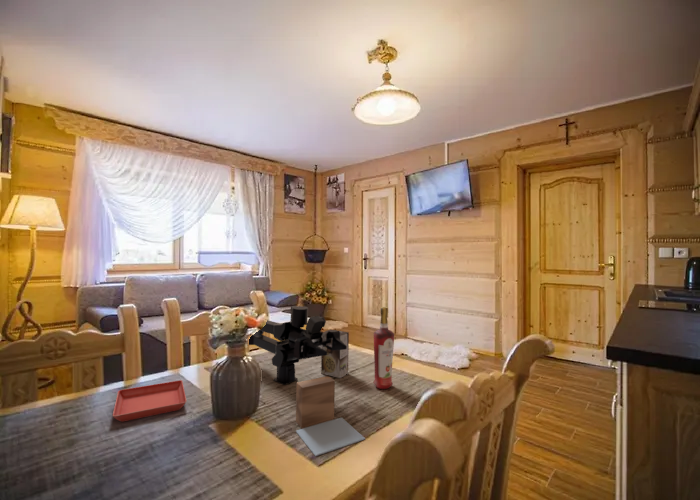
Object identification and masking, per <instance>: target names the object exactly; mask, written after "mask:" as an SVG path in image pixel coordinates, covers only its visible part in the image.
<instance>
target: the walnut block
mask: <svg viewBox="0 0 700 500" xmlns="http://www.w3.org/2000/svg"><path fill="white" fill-rule="evenodd" d="M335 382H336V381H335V380H334V379H333V378H332V377H330V376H329V375H326V376H322V377H317V378H313V379H307V380H303V381H298V382H296V391H295V393H296V395H295V396H296V397H295V398H296V399H295V401H296V403H295V407H296V408H295V423H297V425H298V426H299V427H300V429H303V428H307V427H310V426H313V425H317V424H320V423H324V422H327V421H331V420H334V419H335V399H336V398H335V393H336V392H335V389H336V383H335Z"/></svg>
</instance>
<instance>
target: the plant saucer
mask: <svg viewBox="0 0 700 500" xmlns="http://www.w3.org/2000/svg"><path fill="white" fill-rule="evenodd" d="M186 403H187V396H186V391H185V387H184V381H183V380H181V379H180V380H174V381H168V382H160V383H156V384H150V385H149V384H148V385H144V386H143V385H142V386H137V387H132V388H131V387H130V388H125V389H124V388H123V389H120V390H117V394H116V400H115V404H114V407H113V412H112V417H113V418H114V419H115V420H117V421H119V422H121V423H122V422H128V421H132V420H137V419H143V418H146V417H147V418H148V417H151V416H156V415H161V414H166V413H170V412H175V411H179V410H181V409H182V408H183V407H184V406H185V404H186Z"/></svg>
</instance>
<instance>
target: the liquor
mask: <svg viewBox="0 0 700 500" xmlns="http://www.w3.org/2000/svg"><path fill="white" fill-rule="evenodd" d="M388 313H389V307H387V306H381V307H380V321H379V322H380V323H379V329H377V330H375V331H374V332H373V357H374V360H373V361H374V380H373V383H372V384H373V385H374V386H375V387H376V388H377V389H379V390H388V389H389V388H390V387H392V386H393V383H394V382H393V381H392V379H393V378H392V376H393V359H394V347H395V346H394V345H395V333H394V331H392V330H391V329H389V320H388V317H389V316H388V315H389V314H388Z"/></svg>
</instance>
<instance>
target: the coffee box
mask: <svg viewBox="0 0 700 500" xmlns="http://www.w3.org/2000/svg"><path fill="white" fill-rule="evenodd" d="M332 330H333V329H328V330H326V331H322V332H323V335H322V339H326V335H327V332H329V331H332ZM338 331H339V332H340V340H341V341H342V342H343V343H344V344H345V345H346V346H347V349H344V350H334V351H331V350H329V349H327V347H322V349H324V350H325V351H327V355H325V356H320V357H321V362H320V363H321V364H320V365H321V367H320V368H321V371H320V372H321V374H323V375H326V376H329V377H330V376H331V377H334V378H337V379H342V377H345V376H347V375H349V347H350V346H349V344H350V343H349V342H350V337H349V335H350V334H349V333H350V332H349V331H341V330H338ZM346 374H347V375H346Z"/></svg>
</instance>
